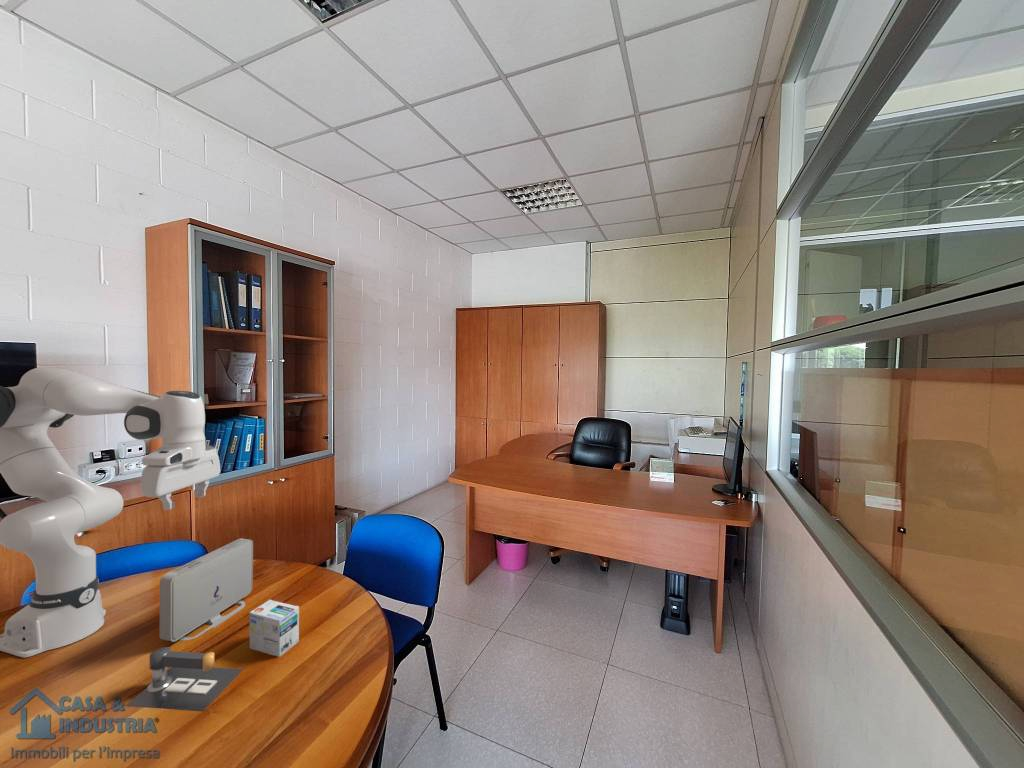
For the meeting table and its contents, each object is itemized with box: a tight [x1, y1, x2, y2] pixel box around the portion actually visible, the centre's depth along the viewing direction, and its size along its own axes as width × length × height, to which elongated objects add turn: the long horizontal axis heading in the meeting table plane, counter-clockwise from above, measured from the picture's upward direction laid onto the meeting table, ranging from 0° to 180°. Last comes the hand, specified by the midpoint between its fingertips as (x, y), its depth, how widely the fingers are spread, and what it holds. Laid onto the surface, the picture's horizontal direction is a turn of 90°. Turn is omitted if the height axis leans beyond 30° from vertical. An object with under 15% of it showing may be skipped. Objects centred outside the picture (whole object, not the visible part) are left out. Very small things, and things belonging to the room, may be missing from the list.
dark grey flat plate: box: [125, 666, 244, 712], centre depth 92 cm, size 18×12×1 cm, turn 88°
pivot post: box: [146, 667, 172, 692], centre depth 92 cm, size 4×4×5 cm
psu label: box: [164, 678, 195, 693], centre depth 92 cm, size 4×4×1 cm
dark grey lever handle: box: [149, 646, 215, 671], centre depth 91 cm, size 15×4×3 cm, turn 88°
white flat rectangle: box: [187, 679, 217, 694], centre depth 91 cm, size 4×4×1 cm
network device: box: [159, 537, 254, 643], centre depth 116 cm, size 26×9×20 cm, turn 168°
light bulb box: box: [248, 599, 300, 658], centre depth 106 cm, size 11×7×11 cm, turn 74°
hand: (185, 502), depth 103 cm, fingers open, 8 cm apart
